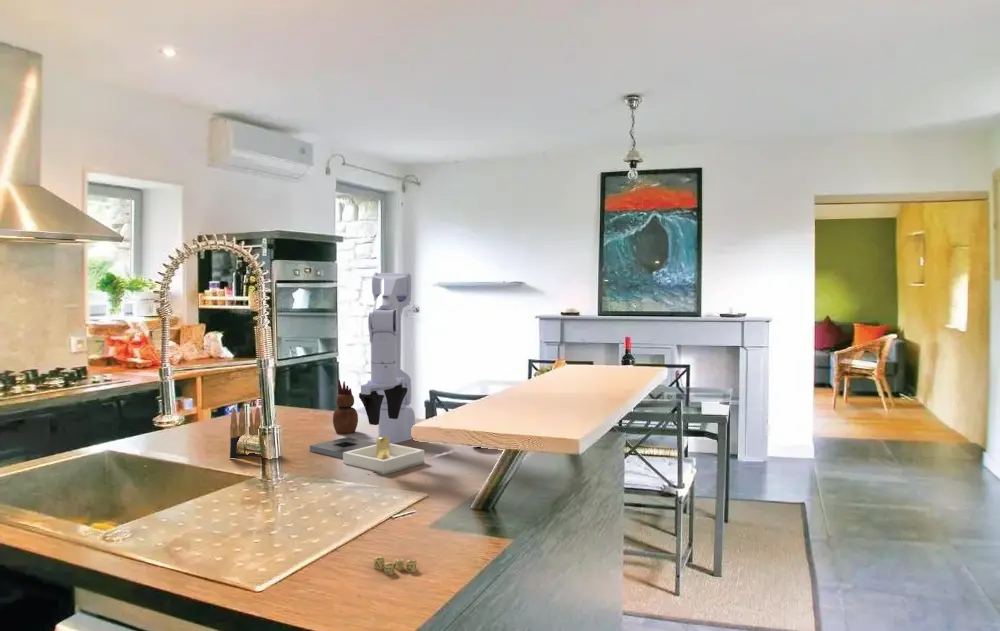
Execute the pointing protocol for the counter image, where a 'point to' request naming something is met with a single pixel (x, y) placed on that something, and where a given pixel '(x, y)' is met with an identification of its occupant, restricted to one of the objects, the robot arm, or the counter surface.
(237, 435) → the ammunition clip
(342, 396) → the wooden figurine
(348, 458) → the tray
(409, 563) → the dice set
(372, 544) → the counter surface
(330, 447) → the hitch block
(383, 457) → the gold upright block
